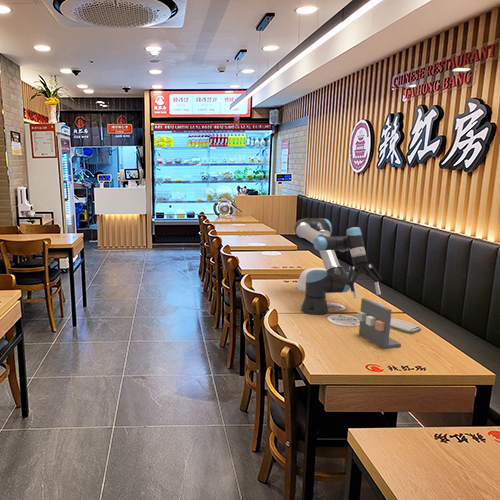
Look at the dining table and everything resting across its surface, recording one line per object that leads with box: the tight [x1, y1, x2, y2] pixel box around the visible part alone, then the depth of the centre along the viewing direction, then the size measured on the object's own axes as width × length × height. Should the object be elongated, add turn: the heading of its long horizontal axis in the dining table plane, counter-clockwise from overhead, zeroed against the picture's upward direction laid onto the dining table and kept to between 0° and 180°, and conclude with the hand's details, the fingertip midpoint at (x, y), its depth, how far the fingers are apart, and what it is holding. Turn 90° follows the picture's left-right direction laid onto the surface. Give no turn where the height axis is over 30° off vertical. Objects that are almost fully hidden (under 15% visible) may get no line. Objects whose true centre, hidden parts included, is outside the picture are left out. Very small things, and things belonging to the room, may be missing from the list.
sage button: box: [356, 311, 367, 322], centre depth 211 cm, size 4×4×4 cm
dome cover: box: [296, 267, 328, 295], centre depth 306 cm, size 32×30×14 cm
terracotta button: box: [375, 320, 385, 331], centre depth 198 cm, size 4×4×4 cm
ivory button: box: [366, 316, 376, 326], centre depth 205 cm, size 4×4×4 cm
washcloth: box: [390, 317, 422, 335], centre depth 228 cm, size 12×18×3 cm, turn 42°
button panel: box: [358, 298, 402, 350], centre depth 207 cm, size 20×9×18 cm, turn 20°
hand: (367, 296), depth 227 cm, fingers open, 13 cm apart
